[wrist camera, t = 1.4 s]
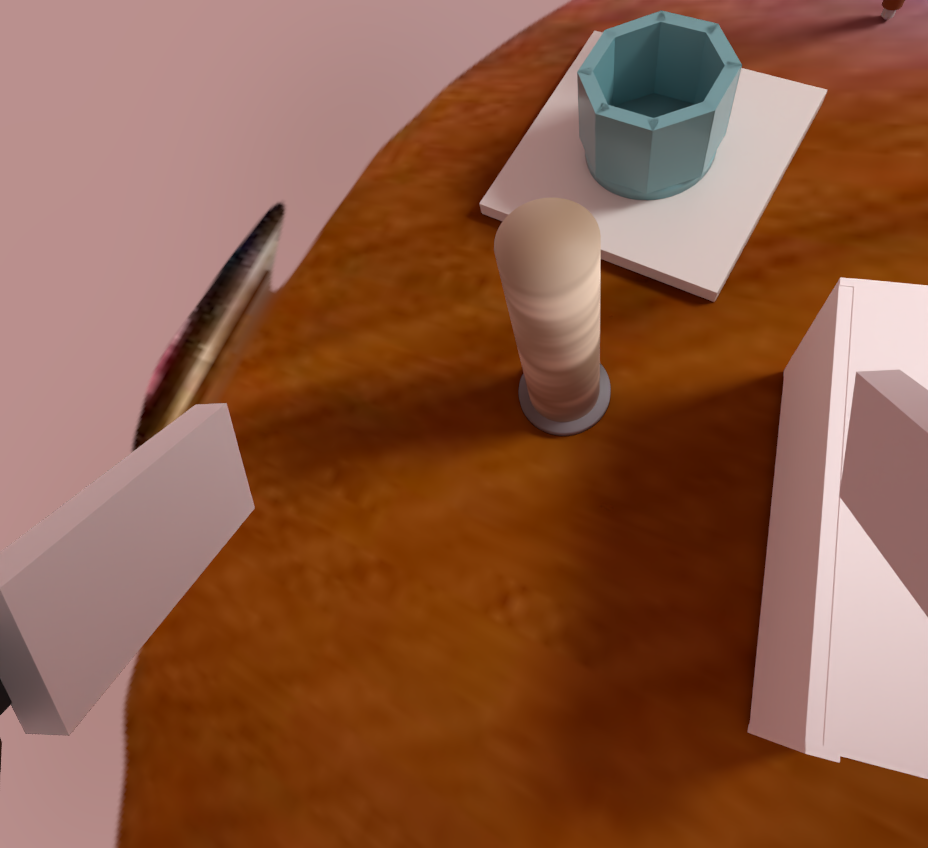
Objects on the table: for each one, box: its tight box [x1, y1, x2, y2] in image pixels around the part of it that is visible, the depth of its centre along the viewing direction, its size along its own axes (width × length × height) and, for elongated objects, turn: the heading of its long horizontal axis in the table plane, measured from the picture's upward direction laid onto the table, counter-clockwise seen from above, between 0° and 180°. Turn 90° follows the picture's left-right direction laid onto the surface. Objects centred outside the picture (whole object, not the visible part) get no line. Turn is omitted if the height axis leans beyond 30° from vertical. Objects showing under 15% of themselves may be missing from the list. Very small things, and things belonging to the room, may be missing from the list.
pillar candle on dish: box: [494, 197, 610, 436], centre depth 32 cm, size 5×5×15 cm
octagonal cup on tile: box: [479, 11, 827, 302], centre depth 40 cm, size 16×16×7 cm
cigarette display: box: [747, 278, 928, 779], centre depth 29 cm, size 20×6×9 cm, turn 166°
